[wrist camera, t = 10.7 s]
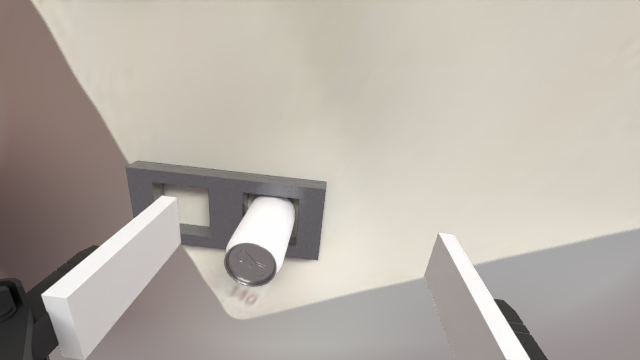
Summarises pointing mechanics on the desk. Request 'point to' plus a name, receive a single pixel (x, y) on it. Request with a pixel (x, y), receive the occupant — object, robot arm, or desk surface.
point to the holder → (231, 202)
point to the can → (260, 241)
